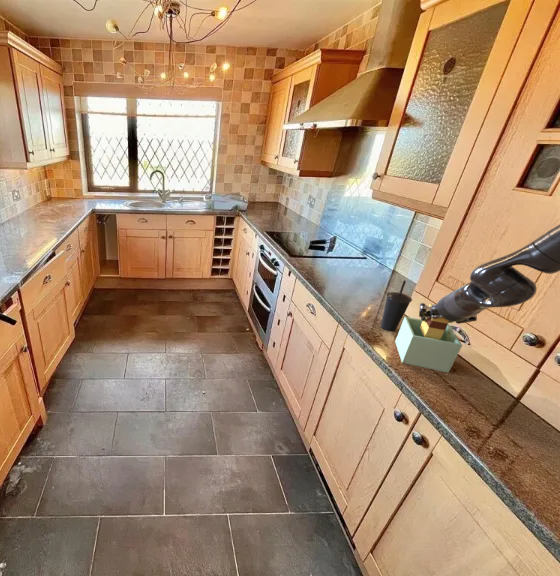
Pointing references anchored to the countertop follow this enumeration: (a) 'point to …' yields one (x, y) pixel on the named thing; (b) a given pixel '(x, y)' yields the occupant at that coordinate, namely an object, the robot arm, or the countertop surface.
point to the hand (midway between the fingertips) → (432, 319)
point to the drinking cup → (394, 309)
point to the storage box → (426, 346)
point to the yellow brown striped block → (434, 327)
